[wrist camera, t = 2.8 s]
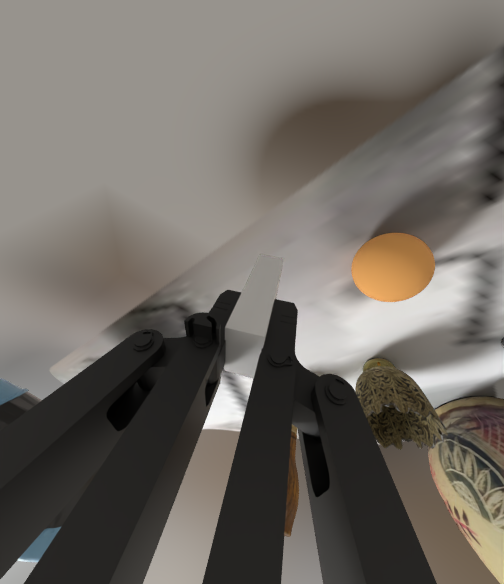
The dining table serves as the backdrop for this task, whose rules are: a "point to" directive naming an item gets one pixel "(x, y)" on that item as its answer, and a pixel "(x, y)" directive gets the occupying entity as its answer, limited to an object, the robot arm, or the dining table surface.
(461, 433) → the ceramic jug
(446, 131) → the dining table surface
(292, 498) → the hand bell
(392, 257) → the ball
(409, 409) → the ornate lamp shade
